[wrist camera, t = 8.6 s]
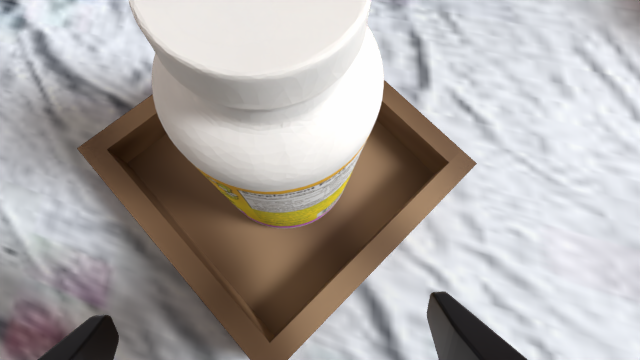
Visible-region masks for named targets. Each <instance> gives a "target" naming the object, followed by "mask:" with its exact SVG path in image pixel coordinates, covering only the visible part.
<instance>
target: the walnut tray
mask: <svg viewBox="0 0 640 360" xmlns="http://www.w3.org/2000/svg"><path fill="white" fill-rule="evenodd" d="M77 149H78V150H79V151H80V153H81V154H82V155H83V156H84V158H85V159H86V160H87V161H88V162H89V164H90V165H91V166H92V167H93V169H94V170H95V171H96V172H97V173H98V175H99V176H100V177H101V178H102V179H103V181H104V182H105V183H106V184H107V186H108V187H109V188H110V189H111V190H112V192H113V193H114V194H115V195H116V197H117V198H118V199H119V200H120V201H121V203H122V204H123V205H124V206H125V207H126V209H127V210H128V211H129V212H130V214H131V215H132V216H133V217H134V218H135V220H136V221H137V222H138V223H139V225H140V226H141V227H142V228H143V229H144V231H145V232H146V233H147V234H148V235H149V237H150V238H151V239H152V240H153V242H154V243H155V244H156V245H157V246H158V248H159V249H160V250H161V251H162V253H163V254H164V255H165V256H166V257H167V259H168V260H169V261H170V262H171V263H172V265H173V266H174V267H175V268H176V270H177V271H178V272H179V273H180V274H181V276H182V277H183V278H184V279H185V281H186V282H187V283H188V284H189V285H190V287H191V288H192V289H193V290H194V291H195V293H196V294H197V295H198V296H199V298H200V299H201V300H202V301H203V302H204V304H205V305H206V306H207V307H208V309H209V310H210V311H211V312H212V313H213V315H214V316H215V317H216V318H217V319H218V321H219V322H220V323H221V324H222V326H223V327H224V328H225V329H226V330H227V332H228V333H229V334H230V335H231V337H232V338H233V339H234V340H235V341H236V343H237V344H238V345H239V346H240V347H241V349H242V350H243V351H244V352H245V354H246V355H247V356H248V357H249V358H250V360H288V359H289V358H290V357H291V356H292V355H293V354H294V353H295V352H296V351H297V349H298V348H299V347H300V346H301V345H302V344H303V343H304V342H305V341H306V340H307V339H308V338H309V337H310V336H311V335H312V334H313V333H314V332H315V331H316V330H317V329H318V328H319V327H320V326H321V325H322V324H323V323H324V321H325V320H326V319H327V318H328V317H329V316H330V315H331V314H332V313H333V312H334V311H335V310H336V309H337V308H338V307H339V306H340V305H341V304H342V303H343V302H344V301H345V300H346V299H347V298H348V297H349V296H350V295H351V293H352V292H353V291H354V290H355V289H356V288H357V287H358V286H359V285H360V284H361V283H362V282H363V281H364V280H365V279H366V278H367V277H368V276H369V275H370V274H371V273H372V272H373V271H374V270H375V269H376V268H377V267H378V265H379V264H380V263H381V262H382V261H383V260H384V259H385V258H386V257H387V256H388V255H389V254H390V253H391V252H392V251H393V250H394V249H395V248H396V247H397V246H398V245H399V244H400V243H401V242H402V241H403V240H404V239H405V237H406V236H407V235H408V234H409V233H410V232H411V231H412V230H413V229H414V228H415V227H416V226H417V225H418V224H419V223H420V222H421V221H422V220H423V219H424V218H425V217H426V216H427V215H428V214H429V213H430V212H431V211H432V209H433V208H434V207H435V206H436V205H437V204H438V203H439V202H440V201H441V200H442V199H443V198H444V197H445V196H446V195H447V194H448V193H449V192H450V191H451V190H452V189H453V188H454V187H455V186H456V185H457V184H458V182H459V181H460V180H461V179H462V178H463V177H464V176H465V175H466V174H467V173H468V172H469V171H470V170H471V169H472V168H473V167H474V166H475V165H476V164H477V163H476V162H475V161H473V160H472V159H471V158H470V157H469V156H468V155H467V154H466V153H465V152H463V151H462V150H461V149H460V148H459V147H458V146H457V145H456V144H455V143H453V142H452V141H451V140H450V139H449V138H448V137H447V136H446V135H445V134H443V133H442V132H441V131H440V130H439V129H438V128H437V127H436V126H435V125H434V124H432V123H431V122H430V121H429V120H428V119H427V118H426V117H425V116H424V115H422V114H421V113H420V112H419V111H418V110H417V109H416V108H415V107H414V106H412V105H411V104H410V103H409V102H408V101H407V100H406V99H405V98H404V97H403V96H401V95H400V94H399V93H398V92H397V91H396V90H395V89H394V88H393V87H391V86H390V85H389V84H388V83H387V82H386V81H385V80H384V88H383V97H382V103H381V107H380V110H379V113H378V116H377V119H376V121H375V124H374V126H373V128H372V130H371V133H370V135H369V137H368V139H367V141H366V143H365V145H364V147H363V149H362V151H361V153H360V156H359V158H358V160H357V162H356V164H355V167H354V169H353V171H352V173H351V176H350V178H349V180H348V182H347V184H346V187H345V189H344V191H343V193H342V195H341V196H340V198H339V199H338V201H337V202H336V204H335V205H334V206H333V207H332V208H331V209H330V210H329V211H328V212H327V213H326V214H325V215H324V216H322V217H321V218H319V219H318V220H316V221H314V222H312V223H310V224H307V225H304V226H301V227H296V228H287V229H283V228H273V227H268V226H265V225H262V224H260V223H257V222H255V221H254V220H252V219H250V218H249V217H247V216H246V215H245V214H244V213H242V212H241V211H240V210H239V209H238V208H237V207H236V206H235V205H234V204H233V203H232V202H231V201H230V200H229V199H228V198H227V197H226V196H224V195H223V193H222V192H221V191H219V190H218V189H217V188H216V187H215V186H214V185H213V183H212V182H210V181H209V180H208V179H207V177H205V176H204V175H203V174H202V173H201V172H200V171H199V170H198V169H197V168H196V167H195V166H194V165H193V164H192V163H191V162H190V161H189V160H188V159H187V158H186V157H185V156H184V155H183V154H182V153H181V152H180V151H179V149H178V148H177V147H176V146H175V145H174V143H173V142H172V141H171V139H170V138H169V136H168V134H167V133H166V131H165V129H164V128H163V126H162V123H161V121H160V119H159V117H158V114H157V111H156V108H155V103H154V99H153V94H152V95H151V96H150V97H148V98H147V99H145V100H144V101H143V102H141V103H140V104H138V105H137V106H136V107H134V108H133V109H131V110H130V111H129V112H127V113H126V114H124V115H123V116H122V117H120V118H119V119H117V120H116V121H115V122H113V123H112V124H110V125H109V126H108V127H106V128H105V129H104V130H102V131H101V132H99V133H98V134H97V135H95V136H94V137H92V138H91V139H90V140H88V141H87V142H85V143H84V144H83V145H81V146H80V147H78V148H77Z"/></svg>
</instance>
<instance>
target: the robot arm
mask: <svg viewBox="0 0 640 360" xmlns="http://www.w3.org/2000/svg"><path fill="white" fill-rule="evenodd" d="M427 319H428V323H429V326H430V330H431V333H432V337H433V340H434V344H435V347H436V351H437V354H438V358H439V360H527V359H526V358H525V357H524V356H523V355H521V354H520V353H519V352H518V351H517V350H515V349H514V348H513V347H512V346H511V345H509V344H508V343H507V342H506V341H505V340H503V339H502V338H501V337H500V336H499V335H497V334H496V333H495V332H494V331H493V330H491V329H490V328H489V327H488V326H487V325H485V324H484V323H483V322H482V321H481V320H479V319H478V318H477V317H476V316H475V315H473V314H472V313H471V312H470V311H469V310H467V309H466V308H465V307H464V306H462V305H461V304H460V303H459V302H458V301H456V300H455V299H454V298H453V297H452V296H450V295H449V294H448V293H446V292H433V293H431V295H430V299H429V304H428V309H427ZM118 341H119V335H118V332H117V330H116V327H115V325H114V323H113V321H112V318H111V317H110V316H109V315H96V316H92V317H90V318H89V319H88V320H86V321H85V322H84V323H83V324H81V325H80V326H79V327H78V328H76V329H75V330H74V331H73V332H71V333H70V334H69V335H68V336H66V337H65V338H64V339H63V340H61V341H60V342H59V343H58V344H56V345H55V346H54V347H53V348H51V349H50V350H49V351H48V352H46V353H45V354H44V355H43V356H41V357H40V358H39V359H38V360H113V359H114V355H115V352H116V349H117V346H118Z"/></svg>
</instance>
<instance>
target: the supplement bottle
mask: <svg viewBox="0 0 640 360" xmlns="http://www.w3.org/2000/svg"><path fill="white" fill-rule="evenodd" d="M371 1H372V0H129V4H130V7H131V10H132V12H133V15H134V18H135V20H136V22H137V24H138V26H139V27H140V29H141V30H142V32H143V34H144V35H145V37H146V38H147V40H148V41H149V43H150V44H151V46H152V48H153V49H154V51H155V57H154V61H153V68H152V91H153V99H154V103H155V108H156V111H157V114H158V117H159V119H160V121H161V123H162V126H163V128H164V129H165V131H166V133H167V134H168V136H169V138H170V139H171V141H172V142H173V143H174V145H175V146H176V147H177V148H178V149H179V151H180V152H181V153H182V154H183V155H184V156H185V157H186V158H187V159H188V160H189V161H190V162H191V163H192V164H193V165H194V166H195V167H196V168H197V169H198V170H199V171H200V172H201V173H202V174H203V175H204V176H205V177H207V179H208V180H209V181H210V182H212V183H213V185H214V186H215V187H216V188H217V189H218V190H219V191H221V192H222V193H223V195H224V196H226V197H227V198H228V199H229V200H230V201H231V202H232V203H233V204H234V205H235V206H236V207H237V208H238V209H239V210H240V211H241V212H242V213H244V214H245V215H246V216H247V217H249V218H250V219H252V220H254V221H255V222H257V223H260V224H262V225H265V226H268V227H273V228H283V229H287V228H296V227H301V226H304V225H307V224H310V223H312V222H314V221H316V220H318V219H319V218H321V217H322V216H324V215H325V214H326V213H327V212H328V211H329V210H330V209H331V208H332V207H333V206H334V205H335V204H336V202H337V201H338V199H339V198H340V196H341V195H342V193H343V191H344V189H345V187H346V184H347V182H348V180H349V178H350V176H351V173H352V171H353V169H354V167H355V164H356V162H357V160H358V158H359V156H360V153H361V151H362V149H363V147H364V145H365V143H366V141H367V139H368V137H369V135H370V133H371V130H372V128H373V126H374V124H375V121H376V119H377V116H378V113H379V110H380V107H381V103H382V97H383V88H384V73H383V64H382V60H381V56H380V52H379V48H378V45H377V43H376V40H375V38H374V36H373V34H372V32H371V30H370V29H369V27H368V25H367V21H368V16H369V11H370V6H371Z"/></svg>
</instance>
